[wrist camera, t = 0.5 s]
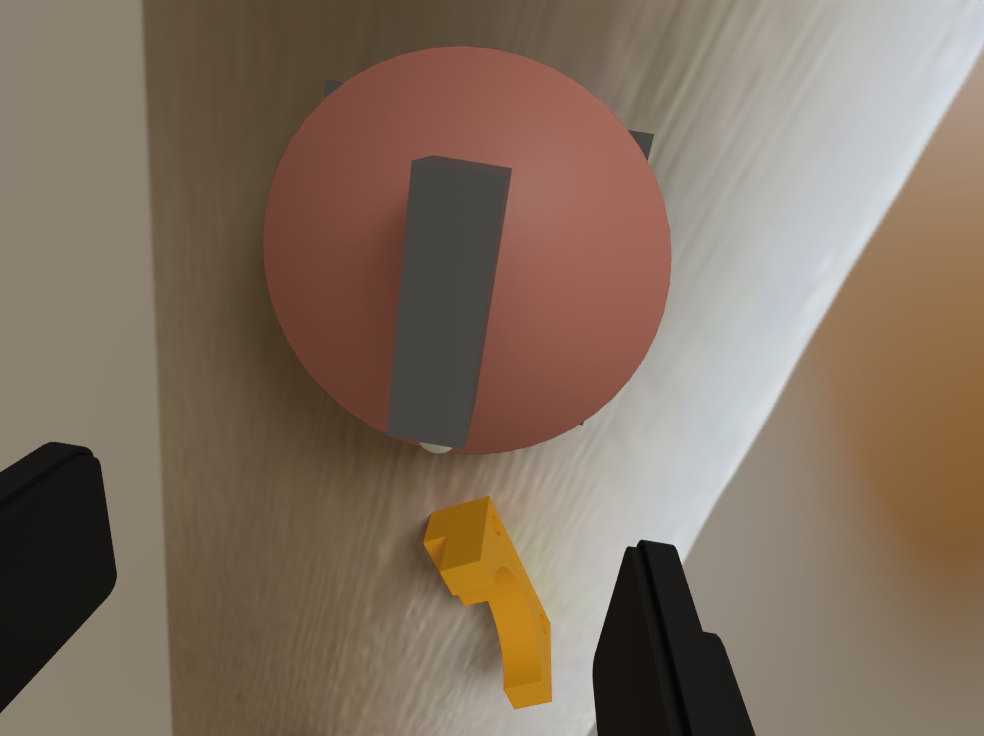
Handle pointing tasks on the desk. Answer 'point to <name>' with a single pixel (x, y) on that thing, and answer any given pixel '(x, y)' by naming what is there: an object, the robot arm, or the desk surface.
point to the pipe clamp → (495, 592)
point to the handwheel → (467, 250)
